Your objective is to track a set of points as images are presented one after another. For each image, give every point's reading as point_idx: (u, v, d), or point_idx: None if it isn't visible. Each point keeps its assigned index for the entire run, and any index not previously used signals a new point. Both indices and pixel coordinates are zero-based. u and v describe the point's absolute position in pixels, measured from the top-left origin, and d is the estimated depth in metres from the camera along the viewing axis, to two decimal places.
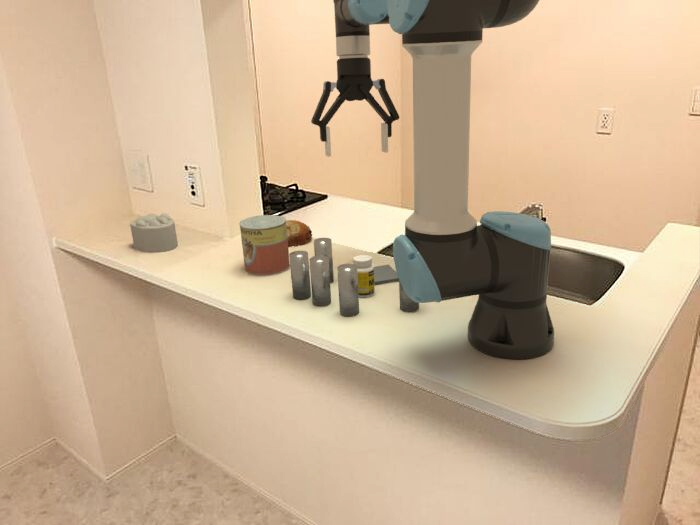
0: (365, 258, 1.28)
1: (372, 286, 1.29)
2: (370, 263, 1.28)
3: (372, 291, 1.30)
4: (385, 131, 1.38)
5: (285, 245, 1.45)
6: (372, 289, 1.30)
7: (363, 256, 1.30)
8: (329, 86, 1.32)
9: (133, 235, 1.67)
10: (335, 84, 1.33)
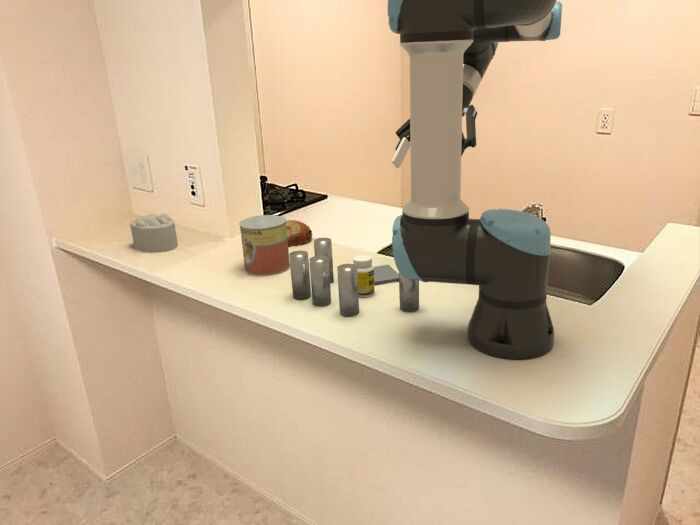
0: (365, 258, 1.28)
1: (372, 286, 1.29)
2: (370, 263, 1.28)
3: (372, 291, 1.30)
4: None
5: (285, 245, 1.45)
6: (372, 289, 1.30)
7: (363, 256, 1.30)
8: None
9: (133, 235, 1.67)
10: None
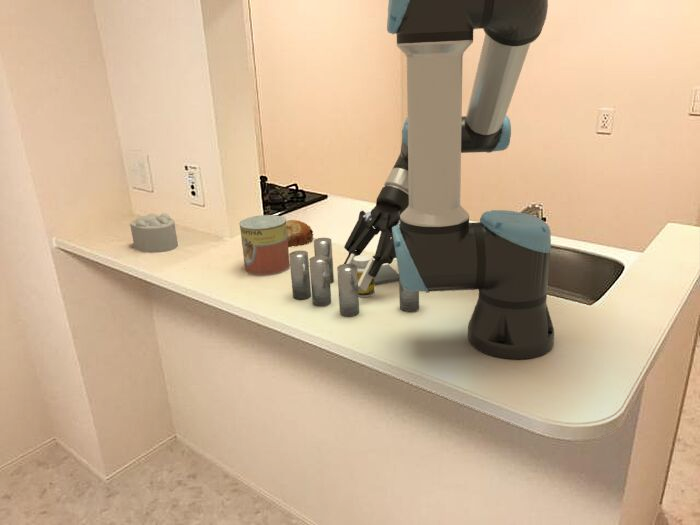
0: (365, 258, 1.28)
1: (372, 286, 1.29)
2: None
3: (372, 291, 1.30)
4: (367, 265, 1.26)
5: (285, 245, 1.45)
6: (372, 289, 1.30)
7: (363, 255, 1.30)
8: (362, 214, 1.34)
9: (133, 235, 1.67)
10: (370, 213, 1.34)
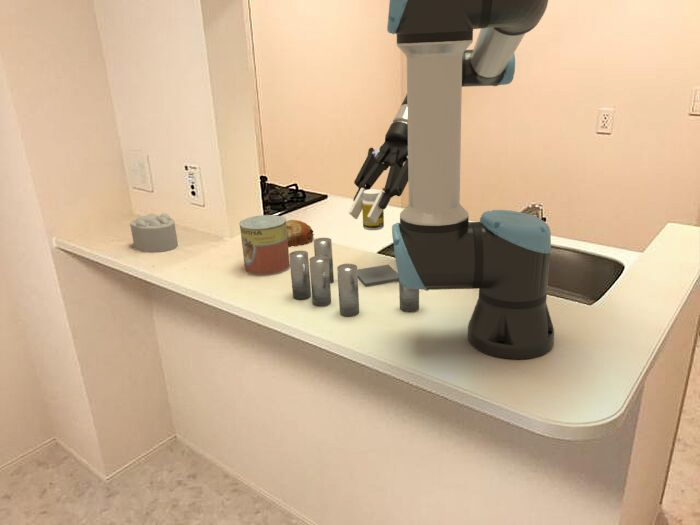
0: (375, 191, 1.31)
1: (382, 219, 1.33)
2: None
3: (382, 224, 1.33)
4: (377, 197, 1.29)
5: (285, 245, 1.45)
6: (382, 222, 1.33)
7: (372, 189, 1.33)
8: (371, 151, 1.37)
9: (133, 235, 1.67)
10: (378, 149, 1.37)
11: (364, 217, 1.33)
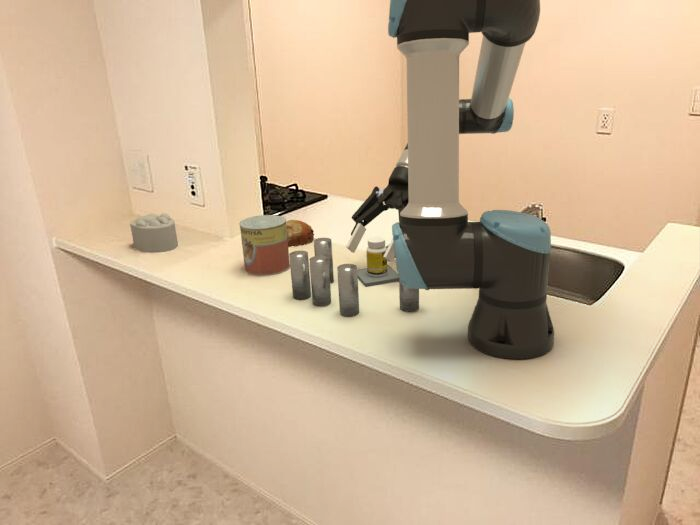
0: (379, 240, 1.36)
1: (385, 266, 1.38)
2: (383, 244, 1.36)
3: (385, 271, 1.38)
4: (393, 238, 1.33)
5: (285, 245, 1.45)
6: (385, 269, 1.38)
7: (376, 237, 1.38)
8: (375, 190, 1.42)
9: (133, 235, 1.67)
10: (383, 190, 1.42)
11: (368, 264, 1.38)
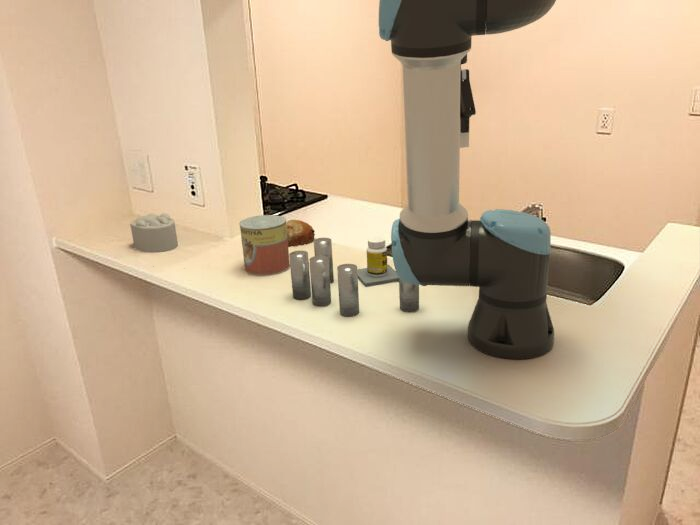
0: (379, 240, 1.36)
1: (385, 266, 1.38)
2: (383, 244, 1.36)
3: (385, 271, 1.38)
4: None
5: (285, 245, 1.45)
6: (385, 269, 1.38)
7: (377, 237, 1.38)
8: None
9: (133, 235, 1.67)
10: None
11: (368, 264, 1.38)
